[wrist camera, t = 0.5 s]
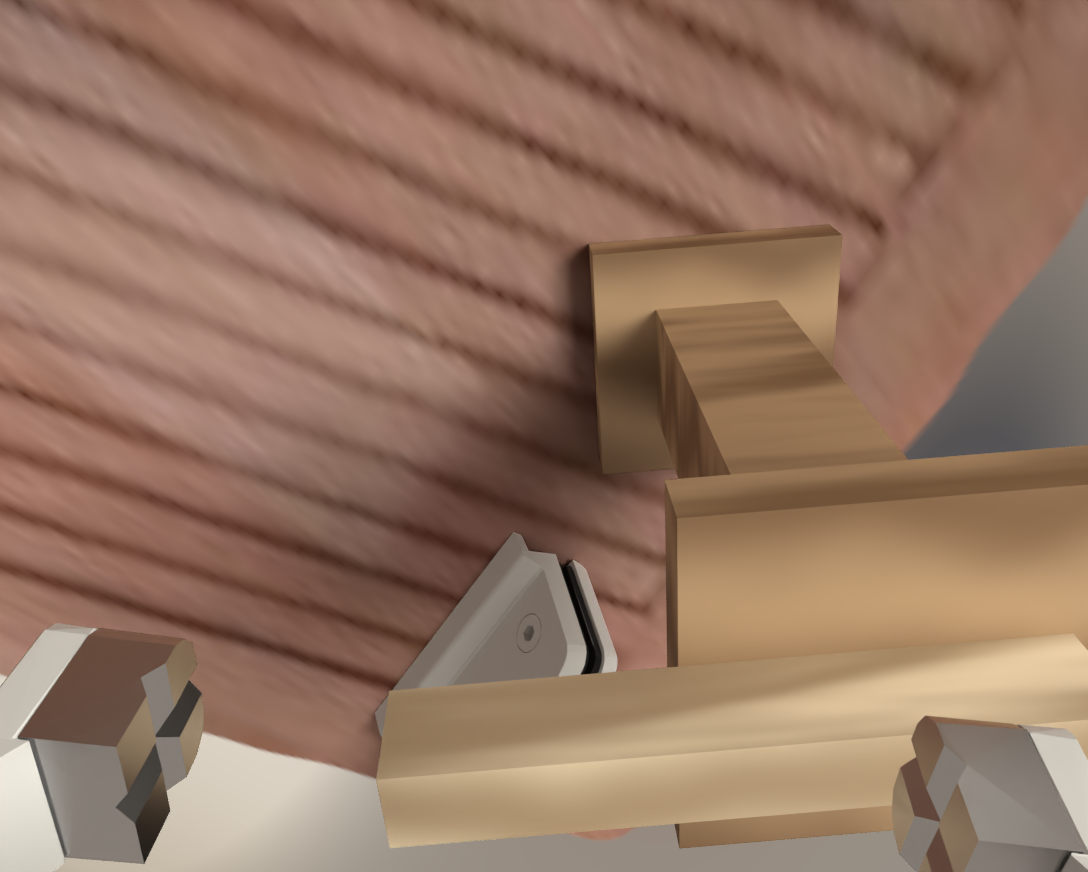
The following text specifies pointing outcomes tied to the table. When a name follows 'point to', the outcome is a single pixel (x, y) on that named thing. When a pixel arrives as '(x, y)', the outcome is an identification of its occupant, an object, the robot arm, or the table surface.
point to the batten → (700, 737)
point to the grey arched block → (516, 627)
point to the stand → (809, 482)
